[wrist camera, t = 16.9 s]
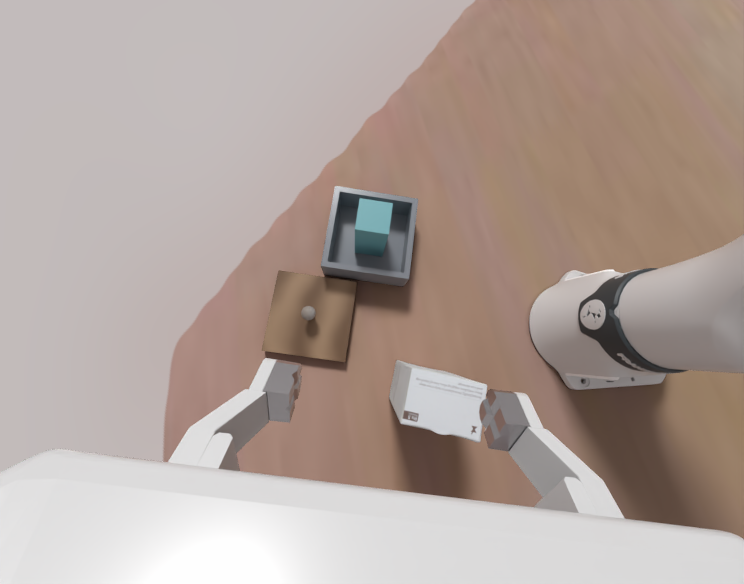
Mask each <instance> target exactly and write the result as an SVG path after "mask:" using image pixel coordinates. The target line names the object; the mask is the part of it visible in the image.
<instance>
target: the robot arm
mask: <svg viewBox="0 0 744 584" xmlns="http://www.w3.org/2000/svg"><path fill="white" fill-rule="evenodd" d="M529 325H530V333H531V337H532V340H533V342H534V345H535V347H536V348H537V350H538V352H539V353H540V354H541V356H542V357H543V358H544V359H545V360H546V361H547V362H548V363H549V364H550V365H551V366H553V367H554V368H555V369H556V370H557V371H558V372H559V374H560V376H561V378H562V380H563V381H564V383H565V384H566V386H567V387H568V388H570V389H573V390H583V389H597V388H610V387H624V386H638V385H651V384H659V383H661V382H662V381H663V380H664V378H665V376H666V374H671V373H680V372H684V371H688V370H693V371H710V372H727V373H744V234H743V235H741V236H740V237H738V238H737V239H735V240H734V241H732V242H730V243H728V244H727V245H725V246H723V247H720V248H718V249H716V250H713V251H711V252H708V253H705V254H703V255H700V256H697V257H695V258H692V259H689V260H686V261H683V262H680V263H676V264H673V265H670V266H666V267H663V268H659V269H657V268H649V269H642V270H634V271H630V272H626V273H619V272H615V271H614V270H604V271H599V272H595V273H591V274H585V273H582V272H579V271H576V270H574V271H569V272H567V273H566V274H565V275H564V276H563V277H562V279H561V280H560V281H559V283H557V284H556V285H554V286H552V287H550V288H548V289H547V290H545V291H544V292H543V293H541V294H540V295H539V297H538V298H537V299H536V301H535V302H534V304H533V306H532V309H531V313H530V320H529ZM301 369H302V366H301V363H295V362H289V361H283V360H276V359H270V358H265V359H264V360H263V362H262V364H261V366H260V368H259V370H258V372H257V374H256V376H255V378H254V380H253V382H252V384H251V386H250V388H249V390H247V389H245V390H243V391H242V392H240V393H239V394H237V395H236V396H234V397H233V398H232V399H230V400H229V401H227V402H226V403H224V404H223V405H221V406H220V407H218V408H217V409H216V410H214V411H213V412H211V413H210V414H208V415H207V416H205V417H204V418H203V419H201V420H200V421H198V422H197V423H195V424H194V425H192V426H191V427H190V428H189V429H188V431H187V432H186V434H185V436H184V437H183V439H182V440H181V442H180V444H179V445H178V447H177V448H176V450H175V452H174V453H173V455H172V456H171V458H170V460H169V461H168V462H161V461H153V460H145V459H136V458H128V457H120V456H112V455H105V454H97V453H88V452H80V451H73V450H64V449H52V450H48V451H44V452H42V453H40V454H37V455H35V456H33V457H30V458H28V459H26V460H24V461H22V462H20V463H18V464H16V465H14V466H12V467H9V468H8V469H5V470H3V471H1V472H0V584H744V539H743V538H741V537H739V536H737V535H735V534H733V533H730V532H726V531H721V530H713V529H705V528H697V527H688V526H680V525H672V524H664V523H656V522H648V521H640V520H632V519H625V518H624V516H623V515H622V513H621V511H620V509H619V508H618V506H617V504H616V502H615V501H614V499H613V497H612V495H611V494H610V492H609V490H608V488H607V487H606V485H605V483H604V481H603V480H602V479H601V478H600V477H599V476H598V475H596V474H595V473H594V472H593V471H592V470H591V469H590V468H589V467H588V466H587V465H586V464H584V463H583V462H582V461H581V460H580V459H579V458H578V457H577V456H576V455H575V454H574V453H572V452H571V451H570V450H569V449H568V448H567V447H566V446H565V445H564V444H563V443H562V442H560V441H559V440H558V439H557V438H556V437H555V436H554V435H553V434H552V433H551V432H550V431H548V430H547V429H544V428H543V426H542V424H541V422H540V420H539V418H538V416H537V414H536V412H535V409H534V407H533V405H532V403H531V401H530V399H529V397H528V396H527V395H526V394H524V393H517V392H511V391H503V390H495V389H490V390H488V392H487V394H486V396H487V399H485V400H483V401H482V403H481V405H480V409H479V416H480V420H481V423H482V424H483V425H484V426H485V428H486V430H485V432H484V434H485V438H486V441H487V444H488V448H490V449H496V450H503V451H509V452H508V453H509V454H510V455H511V457H512V458H513V459H514V461H515V462H516V463H517V464H518V466H519V467H520V468H521V470H522V471H523V472H524V473H525V475H526V476H527V477H528V479H529V480H530V481H531V482H532V484H533V485H534V486H535V488H536V489H537V490H538V492H539V493H540V494H541V495H542V497H543V498H542V499H541V500H540V501H539V502H538V503H537V504H536V505H535V506H534V507H526V506H518V505H509V504H501V503H493V502H485V501H477V500H469V499H461V498H453V497H445V496H437V495H429V494H421V493H413V492H405V491H396V490H388V489H380V488H372V487H364V486H356V485H348V484H339V483H331V482H323V481H315V480H307V479H299V478H291V477H283V476H274V475H266V474H258V473H250V472H242V471H240V468H239V464H238V459H237V455H236V453H237V452H238V451H239V450H240V449H241V448H242V447H243V446H244V445H245V444H246V443H247V442H248V441H250V440H251V439H252V438H253V437H254V436H255V435H256V434H257V433H258V432H259V431H260V430H261V429H262V428H263V427H264V426H265V425H266V424H267V423H268V422H269V420H270V421H280V422H290V421H291V417H292V414H293V411H294V408H295V400H296V399H298V395H299V392H300V387H301V378H302V376H301V375H300V373H301ZM581 379H582V380H583V382H582V383H581Z"/></svg>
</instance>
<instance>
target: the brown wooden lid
mask: <svg viewBox="0 0 744 584" xmlns="http://www.w3.org/2000/svg"><path fill="white" fill-rule="evenodd" d="M356 288H357V282H354V281H347V280H340V279H333V278H327V277H320V276H313V275H306V274H299V273H293V272H286V271H278V276H277V280H276V285H275V290H274V294H273V299H272V304H271V309H270V313H269V318H268V323H267V328H266V332H265V337H264V342H263V346H262V351H268V352H275V353H282V354H290V355H297V356H304V357H311V358H319V359H326V360H333V361H340V362H345V360H346V354H347V347H348V341H349V334H350V327H351V321H352V314H353V308H354V301H355V294H356Z"/></svg>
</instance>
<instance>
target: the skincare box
mask: <svg viewBox="0 0 744 584" xmlns="http://www.w3.org/2000/svg"><path fill="white" fill-rule="evenodd" d="M486 391H487V385H486V384H483V383H479V382H476V381H473V380H470V379H467V378H464V377H461V376H458V375H455V374H452V373H449V372H446V371H441V370H435V369H430V368H425V367H421V366H417V365H413V364H409V363H406V362H402V361H399V360H396V365H395V370H394V375H393V380H392V385H391V390H390V395H389V399H390V401H391V403H392V405H393V408H394V410H395V412H396V414H397V416H398V419H399V421H400V423H401V424H403V425H408V426H413V427H418V428H422V429H427V430H431V431H433V432H435V433H437V434H441V435H453V436H457V437H462V438H465V439H468V440H471V441H474V442H480V441H481V432H482V423H481V420H480V416H479V409H480V405H481V403H482V401H483V400H485V398H486Z"/></svg>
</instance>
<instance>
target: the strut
mask: <svg viewBox="0 0 744 584" xmlns="http://www.w3.org/2000/svg"><path fill="white" fill-rule="evenodd" d="M392 207H393V203H388V202H381V201H375V200H369V199H362V198H360V200H359V206H358V212H357V219H356V225H355V253H361V254H367V255H374V256H381V257H382V255H383V252H384V249H385V245H386V242H387V239H388V235H389V229H390V222H391V214H392Z"/></svg>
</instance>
